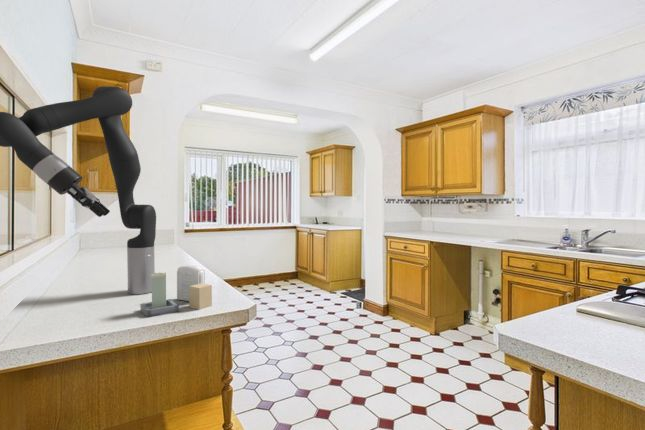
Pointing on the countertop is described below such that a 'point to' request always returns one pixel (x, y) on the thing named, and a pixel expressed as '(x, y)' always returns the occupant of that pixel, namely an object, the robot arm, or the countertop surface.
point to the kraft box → (200, 296)
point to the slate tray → (159, 309)
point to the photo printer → (188, 280)
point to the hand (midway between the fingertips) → (105, 214)
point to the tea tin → (158, 290)
